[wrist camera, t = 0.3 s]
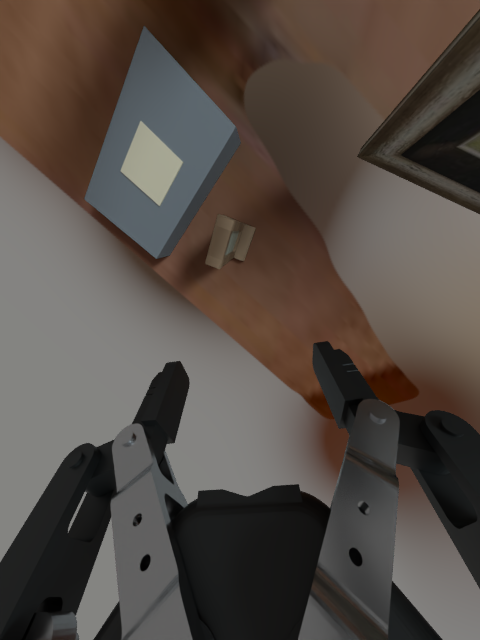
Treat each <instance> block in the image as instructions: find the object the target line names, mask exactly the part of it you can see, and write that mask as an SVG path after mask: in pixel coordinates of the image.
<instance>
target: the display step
mask: <svg viewBox="0 0 480 640" xmlns="http://www.w3.org/2000/svg"><path fill="white" fill-rule="evenodd" d="M240 143H241V142H240V139H239V135H238V132H237V129H236V126H235V125H234V124H233V123H232V122H231V121H230V120H229V119H228V118H227V117H226V115H225V114H224V113H223V112H222V111H221V110H220V109H219V108H218V107H217V105H216V104H215V103H214V102H213V101H212V100H211V99H210V98H209V97H208V96H207V94H206V93H205V92H204V91H203V90H202V89H201V88H200V87H199V86H198V85H197V83H196V82H195V81H194V80H193V79H192V78H191V77H190V76H189V75H188V74H187V72H186V71H185V70H184V69H183V68H182V67H181V66H180V65H179V64H178V63H177V61H176V60H175V59H174V58H173V57H172V56H171V55H170V54H169V53H168V52H167V50H166V49H165V48H164V47H163V46H162V45H161V44H160V43H159V42H158V41H157V39H156V38H155V37H154V36H153V35H152V34H151V33H150V32H149V31H148V30H147V28H146V27H145V26H144V27H143V30H142V33H141V36H140V39H139V42H138V45H137V47H136V50H135V53H134V56H133V59H132V62H131V65H130V68H129V71H128V74H127V77H126V79H125V82H124V85H123V88H122V91H121V94H120V97H119V100H118V103H117V106H116V108H115V111H114V114H113V117H112V120H111V123H110V126H109V129H108V132H107V135H106V137H105V140H104V143H103V146H102V149H101V152H100V155H99V158H98V161H97V164H96V166H95V169H94V172H93V175H92V178H91V181H90V184H89V187H88V190H87V193H86V195H85V198H84V199H85V200H86V201H87V202H88V203H90V204H91V205H92V206H93V207H94V208H96V209H97V210H98V211H99V212H100V213H102V214H103V215H104V216H105V217H107V218H108V219H109V220H110V221H111V222H113V223H114V224H115V225H116V226H117V227H119V228H120V229H121V230H122V231H123V232H125V233H126V234H127V235H128V236H129V237H131V238H132V239H133V240H134V241H135V242H137V243H138V244H139V245H140V246H141V247H143V248H144V249H145V250H146V251H147V252H149V253H150V254H151V255H152V256H153V257H155V258H156V259H158V258H162V257H166V256H170V254H171V252H172V251H173V249H174V248H175V246H176V245H177V243H178V241H179V240H180V238H181V237H182V235H183V233H184V232H185V230H186V229H187V227H188V226H189V224H190V222H191V221H192V219H193V218H194V216H195V215H196V213H197V211H198V210H199V208H200V207H201V205H202V203H203V202H204V200H205V199H206V197H207V196H208V194H209V192H210V191H211V189H212V188H213V186H214V184H215V183H216V181H217V180H218V178H219V177H220V175H221V173H222V172H223V170H224V169H225V167H226V165H227V164H228V162H229V161H230V159H231V158H232V156H233V154H234V153H235V151H236V150H237V148H238V146H239V145H240Z"/></svg>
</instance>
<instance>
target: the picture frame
mask: <svg viewBox="0 0 480 640" xmlns="http://www.w3.org/2000/svg"><path fill="white" fill-rule="evenodd" d="M357 157H359V158H361V159H363V160H365V161H367V162H369V163H371V164H374V165H376V166H378V167H380V168H382V169H385V170H386V171H389V172H391V173H393V174H395V175H397V176H399V177H401V178H404V179H406V180H408V181H410V182H412V183H414V184H416V185H418V186H421V187H423V188H425V189H427V190H429V191H432V192H434V193H436V194H438V195H440V196H442V197H444V198H446V199H448V200H450V201H453V202H455V203H457V204H459V205H461V206H463V207H465V208H468V209H470V210H472V211H474V212H476V213H478V214H480V10H479V11H478V12H477V13H476V14H475V15H474V17H473V18H472V19H471V20H470V21H469V22H468V24H467V25H466V26H465V27H464V28H463V29H462V31H461V32H460V33H459V34H458V35H457V36H456V38H455V39H454V40H453V41H452V42H451V43H450V45H449V46H448V47H447V48H446V49H445V50H444V52H443V53H442V54H441V55H440V56H439V57H438V59H437V60H436V61H435V62H434V63H433V65H432V66H431V67H430V68H429V69H428V70H427V72H426V73H425V74H424V75H423V76H422V77H421V79H420V80H419V81H418V82H417V83H416V84H415V86H414V87H413V88H412V89H411V90H410V91H409V93H408V94H407V95H406V96H405V97H404V98H403V100H402V101H401V102H400V103H399V104H398V105H397V107H396V108H395V109H394V110H393V111H392V113H391V114H390V115H389V116H388V117H387V118H386V120H385V121H384V122H383V123H382V124H381V126H380V127H379V128H378V129H377V130H376V131H375V132H374V134H373V135H372V136H371V137H370V138H369V139H368V141H367V142H366V143H365V144H364V145H363V147H362V148H361V150H360V152H359V154H358V156H357Z"/></svg>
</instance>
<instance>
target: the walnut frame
mask: <svg viewBox="0 0 480 640" xmlns="http://www.w3.org/2000/svg"><path fill="white" fill-rule="evenodd" d="M255 229H256V228H255V227H252V226H250V225H247V224H245V223H242V222H240V221H237V220H235V219H232V218H230V217H227V216H225V215H220V214H218V216H217V220H216V223H215V227H214V231H213V235H212V239H211V243H210V246H209V250H208V254H207V258H206V262H205V264H207V265H209V266H212V267H214V268H217V269H220V268H222V267H223V266H224V265H225V264H227V263H228V262H229V261H230V260H231V259H233V258H236V259H238V260H241V261H244V260H245V257H246V255H247V252H248V249H249V246H250V243H251V241H252V238H253V235H254V232H255Z"/></svg>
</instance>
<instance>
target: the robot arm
mask: <svg viewBox="0 0 480 640" xmlns="http://www.w3.org/2000/svg"><path fill="white" fill-rule="evenodd" d="M313 368H314V371H315V374H316V376H317V379H318V381H319V383H320V386H321V388H322V390H323V393H324V395H325V397H326V400H327V402H328V404H329V407H330V409H331V411H332V414H333V416H334V418H335V421H336V423H337V425H338V428H339V429H340V428H346V429H347V431H348V433H349V435H350V436H349V440H348V443H347V447H346V451H345V455H344V459H343V462H342V466H341V470H340V474H339V478H338V481H337V485H336V488H335V492H334V496H333V500H332V503H331V507H330V508H329V507H328V506H327V505H326V504H324V503H323V502H322V501H320V500H319V499H317V498H316V497H314V496H312V495H310V494H308V493H305V492H302V491H300V488H299V485H298V484H297V485H281V486H272V487H270V488H268V489H265V490H263V491H260V492H258V493H256V494H253V495H251V496H248V497H247V496H243V495H239V494H236V493H233V492H229V491H226V490H206V491H199V492H198V499H196V500H194V501H193V502H191V503H190V504H187V501H186V499H185V497H184V495H183V494H182V492H181V490H180V489H179V487H178V484H177V482H176V479H175V476H174V473H173V471H172V468H171V465H170V462H169V460H168V457H167V454H166V452H165V447H166V444H170V443H175V439H176V435H177V431H178V428H179V424H180V419H181V416H182V412H183V408H184V405H185V401H186V397H187V393H188V389H189V377H188V375H187V373H186V371H185V369H184V367H183V365H182V364H181V362H180V361H176V362H169V363H166V365H165V367H164V369H163V371H162V372H160V373H158V375H156V377H155V378H154V379H153V380H152V382H151V385H150V387H149V390H148V391H147V393H146V396H145V398H144V399H143V402H142V404H141V406H140V408H139V410H138V412H137V415H136V417H135V419H134V421H133V423H132V424H131V425H129V426H127V427H126V428H124V429H123V430H122V431H121V432H120V433H119V434H118V435H117V437H116V438H115V440H112V441H110V442H108V443H105V444H103V445H101V446H99V447H95V446H94V445H92V444H90V443H86V444H83V445H80V446H79V447H77V448H75V449H74V450H73V451H72V452H71V453H69V455H68V456H67V457H66V458H65V459H64V461H63V462H62V464H61V465H60V467H59V468H58V470H57V472H56V473H55V475H54V477H53V478H52V480H51V481H50V483H49V485H48V486H47V488H46V489H45V491H44V493H43V494H42V496H41V498H40V499H39V501H38V502H37V504H36V506H35V507H34V509H33V511H32V512H31V514H30V515H29V517H28V519H27V520H26V522H25V524H24V525H23V527H22V528H21V530H20V531H19V533H18V535H17V536H16V538H15V540H14V541H13V543H12V545H11V546H10V548H9V549H8V551H7V553H6V554H5V556H4V557H3V559H2V561H1V562H0V640H79V635H78V633H77V620H76V617H75V615H76V613H77V610H78V607H79V605H80V602H81V599H82V596H83V594H84V591H85V588H86V585H87V582H88V579H89V577H90V574H91V571H92V569H93V566H94V563H95V560H96V557H97V555H98V552H99V549H100V546H101V543H102V541H103V538H104V535H105V532H106V530H107V527H108V524H109V521H110V518H112V528H113V539H114V549H115V560H116V571H117V582H118V592H119V602H118V604H117V605H116V606H115V608H114V609H113V611H112V612H111V614H110V616H109V617H108V618H107V620H106V622H105V623H104V625H103V626H102V628H101V629H100V631H99V632H98V634H97V635H96V637H95V638H94V640H442V638H441V637H440V636H439V635H438V634H437V633H436V631H435V630H434V629H433V628H432V627H431V626H430V624H429V623H428V622H427V621H426V620H425V619H424V617H423V616H422V615H421V614H420V613H419V612H418V610H417V609H416V608H415V607H414V606H413V605H412V603H411V602H410V601H409V600H408V599H407V597H406V596H405V595H404V594H403V593H402V592H401V590H400V589H399V588H398V587H397V586H396V585H395V583H393V581H392V572H393V559H394V545H395V532H396V519H397V506H398V493H399V482H398V478H397V477H396V463H397V464H401V465H404V466H408V467H410V468H411V469H412V471H413V473H414V475H415V476H416V478H417V480H418V482H419V483H420V485H421V487H422V489H423V490H424V492H425V494H426V496H427V497H428V499H429V501H430V503H431V504H432V506H433V508H434V510H435V511H436V513H437V515H438V517H439V518H440V520H441V522H442V523H443V525H444V527H445V529H446V530H447V532H448V534H449V536H450V538H451V539H452V541H453V543H454V545H455V546H456V548H457V550H458V552H459V553H460V555H461V557H462V559H463V560H464V562H465V564H466V566H467V567H468V569H469V571H470V572H471V574H472V576H473V577H474V579H475V581H476V582H477V585H478V586H479V588H480V435H479V434H478V432H477V431H476V430H475V429H474V428H473V427H472V426H471V425H470V424H468V423H467V422H466V421H464V420H463V419H461V418H460V417H458V416H456V415H454V414H451V413H448V412H445V411H440V410H435V411H430V412H429V413H427V414H426V416H425V417H424V416H419V415H414V414H408V413H403V412H399V411H396V410H393V409H392V408H391V407H390V406H389V405H387V404H386V403H384V402H382V401H380V400H379V399H378V398H377V397H376V395H375V394H374V393H373V391H372V390H371V388H370V387H369V385H368V384H367V382H366V381H365V379H364V378H363V376H362V375H361V373H360V372H359V371H358V369H357V368H356V366H355V365H354V364H353V362H352V360H351V359H350V357H349V356H348V355H347V354H346V353H344V352H343V351H342V350H340V349H337V350H334V349H333V348H332V346H331V345H330V343H329V342H328V341H326V342H318V343H314V344H313ZM85 491H86V492H87V494H86V496H85V499H84V501H83V503H82V505H81V507H80V509H79V511H78V513H77V516H76V518H75V520H74V522H73V524H72V526H71V528H70V531H69V533H68V527H69V524H70V521H71V519H72V517H73V515H74V513H75V511H76V509H77V507H78V504H79V503H80V500H81V498H82V496H83V494H84V492H85Z"/></svg>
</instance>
